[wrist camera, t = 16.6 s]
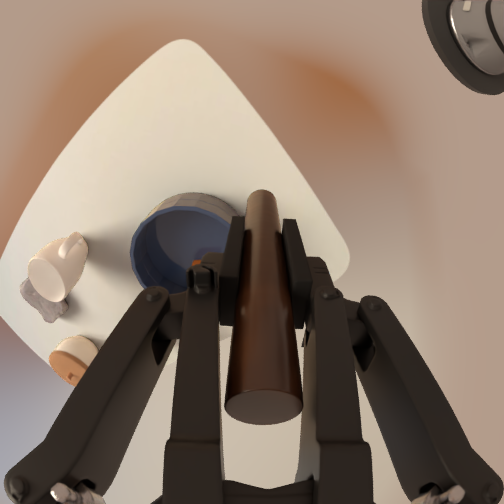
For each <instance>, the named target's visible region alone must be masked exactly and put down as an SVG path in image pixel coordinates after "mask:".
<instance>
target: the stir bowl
mask: <svg viewBox="0 0 504 504" xmlns="http://www.w3.org/2000/svg"><path fill="white" fill-rule="evenodd" d="M232 216H239V214H238V213H237V212H236V211H235V210H234V209H233V208H232V207H231V206H230V205H228V204H227V203H225V202H224V201H222V200H220V199H218V198H216V197H213V196H210V195H207V194H202V193H183V194H178V195H175V196H172V197H170V198H168V199H166V200H164V201H163V202H161V203H160V204H159V205H158V206H157V207H155V208H154V209H153V210H152V211H151V212H150V213H149V214H148V216H147V217H146V218H145V219H144V220H143V221H142V222H141V224H140V225H139V227H138V229H137V230H136V232H135V234H134V235H133V238H132V243H131V249H130V257H131V263H132V269H133V271H134V273H135V275H136V277H137V279H138V281H139V283H140V284H141V286H142V287H143V288H144V289H146V288H148V287H152V286H160V287H163V288H165V289H167V290H168V292H169V294H176V293H181V292H184V291H186V290H187V283H186V273H185V272H186V270H187V269H188V268H189V267H191V266H192V263H193V261H194V260H201V259H202V257H203V256H204V255H205V254H206V253H207V252H217V253H224V251H225V246H226V242H227V237H228V233H229V229H230V225H231V220H232Z"/></svg>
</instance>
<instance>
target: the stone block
mask: <svg viewBox="0 0 504 504" xmlns="http://www.w3.org/2000/svg"><path fill="white" fill-rule="evenodd" d="M20 292H21V294H22V297H23V298H24V299H25V300H26V301H27V302H28V303H29V304H30V305H31V306H33V307H34V308H36V309H37V310H38V311H39V313H40V314H41V315H42V317H43V319H44V320H45V321H46V322H48V323H53V322H54V321H55V320H56V319H57V318H58V317H59V316H61V315H62V314H63V313H64V312H65V311H66V310H67V308H68V305H67V303H66V302H65V300H64V299H63V300H62V301H60V302H52V301H49V300H47V299H45V298H44V297H42V296H41V295H40V294H39V293H38V292H37V291H36V290H35V288H34V287H33V285H32V283H31V281H30V279H29V277H28V278H27V279H26V280H25V281H24V282H22V284H21V285H20Z"/></svg>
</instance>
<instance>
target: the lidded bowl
mask: <svg viewBox="0 0 504 504" xmlns="http://www.w3.org/2000/svg"><path fill="white" fill-rule="evenodd" d="M97 353H98V349H97V347H96V346H95V344H94V343H93V342H92V341H90V340H89V339H87V338H85V337H83V336H72V337H68V338H65V339H63V340H62V341H61V342H60V343H59V344H58V345H57V346H56V348H55V349H54V351H53V352H52V353H51V355H50V356H49V362H50V365H51V367H52V368H53V370H54V371H55V372H56V373H57V374H58V375H59V376H60V377H61V378H62V379H64V380H65V381H66V382H68V383H69V384H71V385H73V386H75V387H76V385H77V384H78V382H79V381H80V379H81V378H82V376H83V374H84V373H85V371H86V370H87V368H88V367H89V365H90V364H91V362H92V361H93V359H94V358H95V356H96V355H97Z"/></svg>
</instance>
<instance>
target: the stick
mask: <svg viewBox="0 0 504 504" xmlns="http://www.w3.org/2000/svg"><path fill="white" fill-rule="evenodd" d="M224 407H225V410H226V412H227V413H228V414H229V415H230V416H231V417H232V418H234V419H236V420H238V421H241V422H244V423H248V424H255V425H272V424H278V423H282V422H286V421H288V420H291V419H293V418H294V417H296V416H297V415H299V414H300V413H301V411H302V409H303V407H304V402H303V392H302V384H301V374H300V366H299V357H298V349H297V340H296V332H295V325H294V317H293V309H292V302H291V295H290V288H289V280H288V273H287V267H286V260H285V253H284V247H283V240H282V234H281V227H280V221H279V215H278V209H277V203H276V199H275V197H274V195H273V194H272V193H271V192H269V191H267V190H257V191H254V192H253V193H252V194H251V195H250V196H249V198H248V201H247V209H246V217H245V230H244V239H243V248H242V257H241V266H240V275H239V284H238V293H237V298H236V302H235V310H234V319H233V328H232V337H231V346H230V356H229V365H228V375H227V384H226V394H225V403H224Z"/></svg>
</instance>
